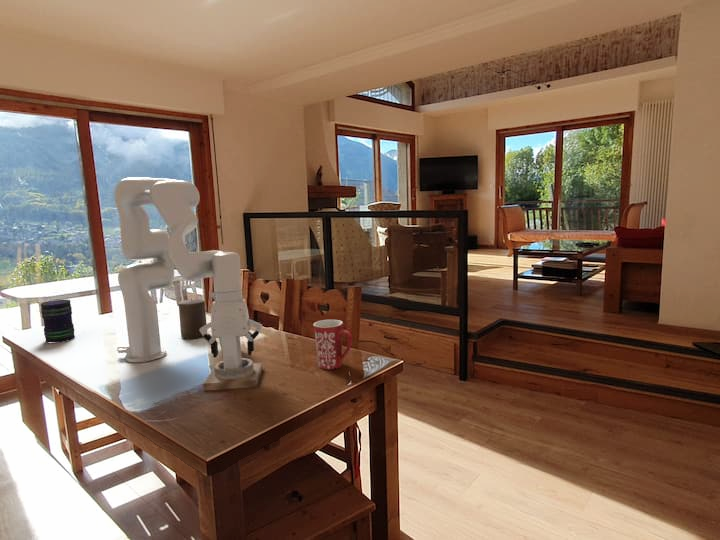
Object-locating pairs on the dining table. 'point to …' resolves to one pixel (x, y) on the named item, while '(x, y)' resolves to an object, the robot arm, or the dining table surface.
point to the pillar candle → (192, 318)
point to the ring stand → (234, 376)
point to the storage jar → (57, 320)
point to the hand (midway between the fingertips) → (233, 354)
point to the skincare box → (231, 352)
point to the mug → (330, 343)
